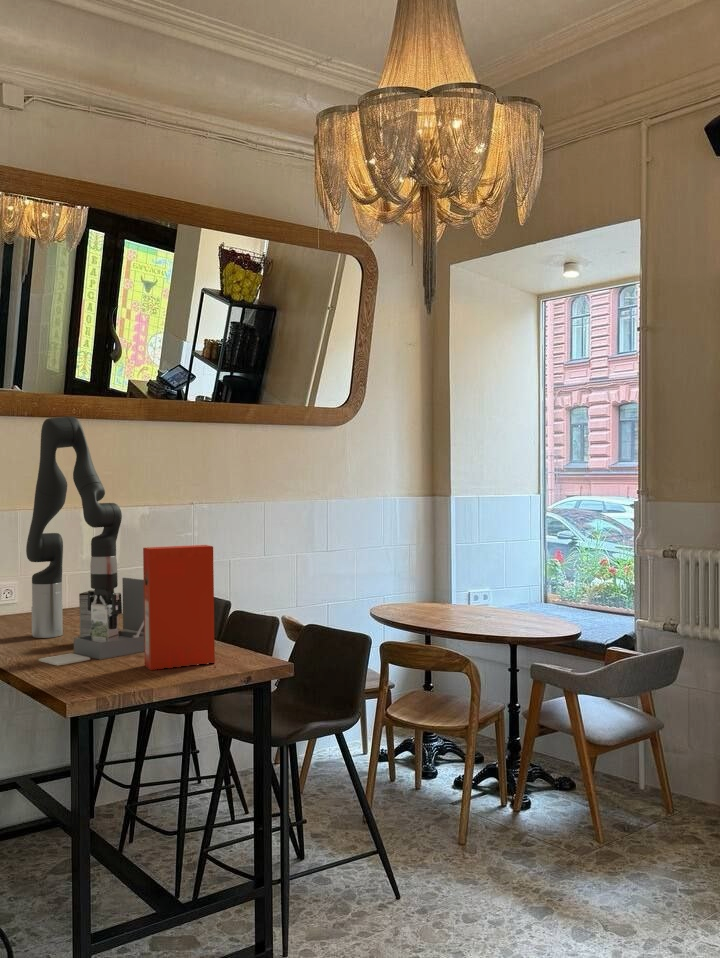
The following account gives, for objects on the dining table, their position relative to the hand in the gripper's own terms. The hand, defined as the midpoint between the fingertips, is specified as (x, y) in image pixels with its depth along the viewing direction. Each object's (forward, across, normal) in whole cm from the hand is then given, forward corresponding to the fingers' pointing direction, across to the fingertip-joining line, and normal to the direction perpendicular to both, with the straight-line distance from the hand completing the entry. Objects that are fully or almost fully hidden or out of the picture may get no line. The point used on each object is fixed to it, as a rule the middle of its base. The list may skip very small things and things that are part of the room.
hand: (104, 627), depth 258 cm
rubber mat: (+8, 0, -13) cm, 15 cm away
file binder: (+8, +30, +4) cm, 31 cm away
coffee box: (+8, -16, +7) cm, 19 cm away
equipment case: (+8, 0, +2) cm, 8 cm away
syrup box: (+8, 0, 0) cm, 8 cm away
